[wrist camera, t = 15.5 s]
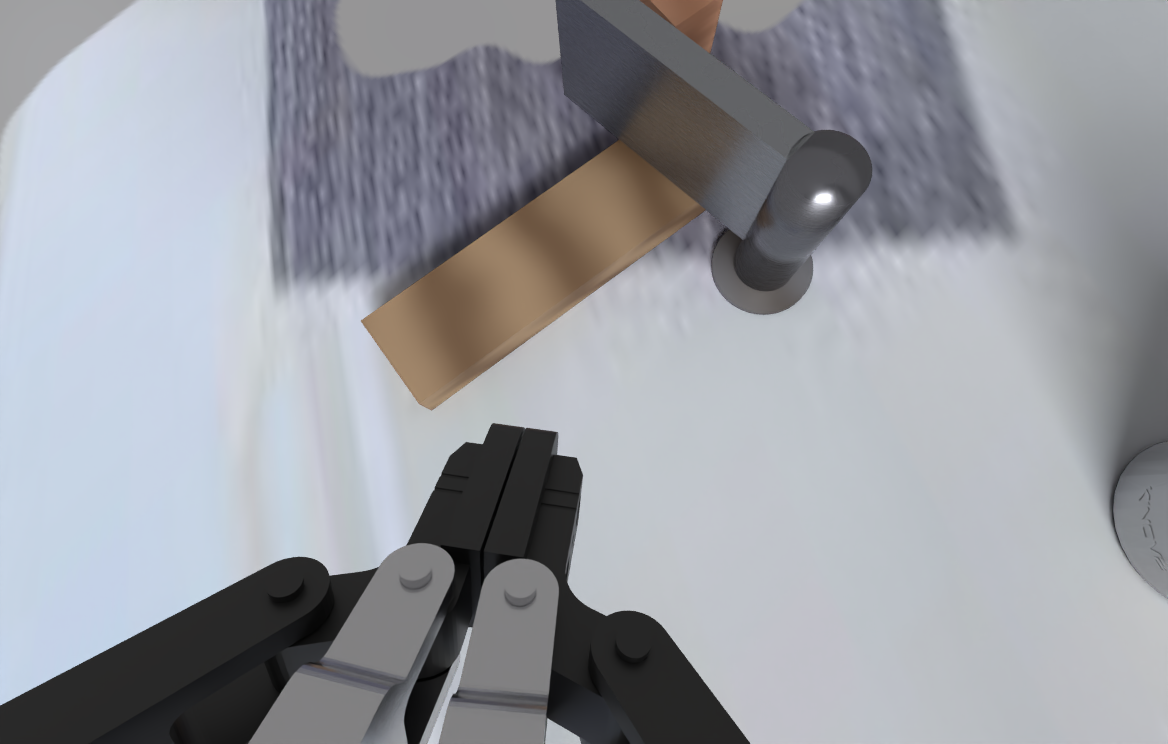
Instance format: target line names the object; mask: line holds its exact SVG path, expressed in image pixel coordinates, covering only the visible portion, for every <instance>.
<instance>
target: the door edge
mask: <svg viewBox="0 0 1168 744" xmlns="http://www.w3.org/2000/svg"><path fill="white" fill-rule="evenodd" d="M639 1H641V2H642V3H643V4H645V5H646V6H647V7H649V8H650V9H651V10H653V11H654V12H655V13H657V14H658V15H659V16H661V17H662V18H663V19H665V20H666V21H667V22H669V23H670V24H671V25H673V26H674V27H675V28H677V29H678V30H679V31H681V32H682V33H683V34H685V35H686V36H687V37H689V38H690V39H691V40H693V41H694V42H695V43H697V44H698V45H699V46H701V47H702V48H703V49H705V50H706V51H707V52H709V53H710V52H711V47H712V43H713V39H714V35H715V31H716V27H717V23H718V19H719V14H720V10H721V6H722V2H723V0H639ZM704 211H705V209H704V208H703V207H702V206H700V205H699V204H698V203H697V202H696V201H694V200H693V199H692V198H691V197H689V196H688V195H687V194H686V193H684V192H683V191H682V190H681V189H680V188H678V187H677V186H676V185H675V184H673V183H672V182H671V181H670V180H669V179H667V178H666V177H665V176H664V175H662V174H661V173H660V172H659V171H657V170H656V169H655V168H654V167H653V166H651V165H650V164H649V163H648V162H646V161H645V160H644V159H643V158H641V157H640V156H639V155H638V154H637V153H635V152H634V151H633V150H632V149H630V148H629V147H628V146H627V145H625V144H624V143H623V142H622V141H621V140H618V141H617V142H615V143H614V144H613V145H611V146H610V147H608V148H607V149H605V150H604V151H603V152H601V153H600V154H598V155H597V156H595V157H594V158H593V159H591V160H590V161H588V162H587V163H585V164H584V165H583V166H581V167H580V168H578V169H577V170H575V171H574V172H573V173H571V174H570V175H568V176H567V177H565V178H564V179H563V180H561V181H560V182H558V183H557V184H555V185H554V186H553V187H551V188H550V189H548V190H547V191H545V192H544V193H543V194H541V195H540V196H538V197H537V198H535V199H534V200H533V201H531V202H530V203H528V204H527V205H525V206H524V207H523V208H521V209H520V210H518V211H517V212H515V213H514V214H513V215H511V216H510V217H508V218H507V219H505V220H504V221H503V222H501V223H500V224H498V225H497V226H495V227H494V228H493V229H491V230H490V231H488V232H487V233H485V234H484V235H483V236H481V237H480V238H478V239H477V240H475V241H474V242H473V243H471V244H470V245H468V246H467V247H465V248H464V249H463V250H461V251H460V252H458V253H457V254H455V255H454V256H453V257H451V258H450V259H448V260H447V261H445V262H444V263H443V264H441V265H440V266H438V267H437V268H435V269H434V270H433V271H431V272H430V273H428V274H427V275H425V276H424V277H423V278H421V279H420V280H418V281H417V282H415V283H414V284H413V285H411V286H410V287H408V288H407V289H405V290H404V291H403V292H401V293H400V294H398V295H397V296H395V297H394V298H393V299H391V300H390V301H388V302H387V303H385V304H384V305H383V306H381V307H380V308H378V309H377V310H375V311H374V312H373V313H371V314H370V315H368V316H367V317H365V318H364V319H363V320H361V322H362V323H363V325H364V326H365V328H366V329H367V331H368V332H369V333H370V335H371V336H372V338H373V339H374V340H375V342H376V343H377V345H378V346H379V348H380V349H381V350H382V352H383V353H384V355H385V356H386V358H387V359H388V360H389V362H390V363H391V365H392V366H393V368H394V369H395V370H396V372H397V373H398V375H399V376H400V377H401V379H402V380H403V382H404V383H405V385H406V386H407V387H408V389H409V390H410V392H411V393H412V395H413V396H414V397H415V399H416V400H417V402H418V403H419V404H420V405H422V406H424V407H426V408H428V409H430V410H433V409H434V408H436V407H437V406H438V405H440V404H441V403H442V402H444V401H445V400H447V399H448V398H449V397H451V396H452V395H453V394H455V393H456V392H457V391H459V390H460V389H462V388H463V387H464V386H466V385H467V384H468V383H470V382H471V381H473V380H474V379H475V378H477V377H478V376H479V375H481V374H482V373H483V372H485V371H486V370H488V369H489V368H490V367H492V366H493V365H494V364H496V363H497V362H499V361H500V360H501V359H503V358H504V357H505V356H507V355H508V354H509V353H511V352H512V351H514V350H515V349H516V348H518V347H519V346H520V345H522V344H523V343H525V342H526V341H527V340H529V339H530V338H531V337H533V336H534V335H535V334H537V333H538V332H540V331H541V330H542V329H544V328H545V327H546V326H548V325H549V324H551V323H552V322H553V321H555V320H556V319H557V318H559V317H560V316H561V315H563V314H564V313H566V312H567V311H568V310H570V309H571V308H572V307H574V306H575V305H577V304H578V303H579V302H581V301H582V300H583V299H585V298H586V297H587V296H589V295H590V294H592V293H593V292H594V291H596V290H597V289H598V288H600V287H601V286H603V285H604V284H605V283H607V282H608V281H609V280H611V279H612V278H613V277H615V276H616V275H618V274H619V273H620V272H622V271H623V270H624V269H626V268H627V267H629V266H630V265H631V264H633V263H634V262H635V261H637V260H638V259H639V258H641V257H642V256H644V255H645V254H646V253H648V252H649V251H650V250H652V249H653V248H655V247H656V246H657V245H659V244H660V243H661V242H663V241H664V240H665V239H667V238H668V237H670V236H671V235H672V234H674V233H675V232H676V231H678V230H679V229H681V228H682V227H683V226H685V225H686V224H687V223H689V222H690V221H691V220H693V219H694V218H696V217H697V216H698V215H700V214H701V213H702V212H704ZM741 241H742V239H741V238H740V237H739V236H737V235H736V234H735V233H734V232H732V231H731V230H730V229H729V230H728V231H727V232H726V233H725V234H724V235H723V236H722V237H721V239H720V240H719V242H718V244H717V246H716V248H715V250H714V253H713V256H712V265H711V269H712V275H713V279H714V282H715V284H716V286H717V288H718V290H719V292H720V293H721V294H722V296H723V297H724V298H725V299H726V300H727V301H728V302H730V303H731V304H732V305H734V306H735V307H737V308H739V309H741V310H743V311H746V312H749V313H754V314H763V315H765V314H774V313H778V312H781V311H784V310H786V309H788V308H790V307H791V306H793V305H794V304H795V303H796V302H797V301H799V300H800V299H801V297H802V296H803V295H804V294H805V292H806V291H807V289H808V287H809V285H810V283H811V280H812V275H813V261H812V257H811V255H810V257H809V258H808V259H807V260H806V261H805V262H804V264H803V265H802V266H801V267H800V268H799V270H798V271H797V272H796V273H795V274H794V275H793V277H792V278H791V279H790V280H789V281H788V282H787V283H786V284H785V285H784V286H783V287H781V288H779V289H777V290H773V291H758V290H754V289H752V288H750V287H748V286H747V285H745V284H744V283H743V282H742V281H741V280H740V279H739V277H738V276H737V274H736V272H735V268H734V256H735V252H736V250H737V248H738V246H739V244H740V243H741Z"/></svg>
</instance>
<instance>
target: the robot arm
mask: <svg viewBox="0 0 1168 744" xmlns="http://www.w3.org/2000/svg"><path fill="white" fill-rule="evenodd" d="M557 447H558V432H553V431H546V430H539V429H532V428H526V429H525V428H524V427H517V426H509V425H502V424H495V423H493V424H492V425H491V427H490V429H489V431H488V434H487V436H486V438H485V441H484V443H483V444H476V443H469V442H466V443H465V444H463V445H462V446H461V447H460V448H459V449H458V450H456V451H455V452H454V453H453V454H452V455H450V457H449V459H448V461H447V463H446V465H445V467H444V469H443V471H442V475H441V477H439V480H438V482H437V484H436V486H435V490H434V491H433V492H432V494H431V496H430V498H429V500H428V502H427V504H426V506H425V508H424V511H423V513H422V515H421V517H420V519H419V521H418V523H417V525H416V527H415V529H414V531H413V533H412V535H411V537H410V539H409V542H408V543H407V545H406V546H404V547H402V548H399V549H398V550H396V551H394V552H393V553H391V554H390V555H389V556H388V557H387V558H386V559H385V560H384V561H383V562H382V563H381V565H380V566H379V567H378V568H375V569H372V570H368V571H363V572H355V573H348V574H340V575H332V576H329V573H328V571H327V569H326V567H325V566H324V565H323V564H322V563H320V562H319V561H317V560H315V559H312V558H307V557H292V558H287V559H283V560H280V561H277V562H275V563H273V564H271V565H269V566H267V567H265V568H263V569H261V570H259V571H257V572H256V573H254V574H252V575H250V576H248V577H246V578H244V579H242V580H240V581H238V582H236V583H234V584H233V585H231V586H229V587H227V588H225V589H223V590H221V591H219V592H217V593H215V594H213V595H211V596H210V597H208V598H206V599H204V600H202V601H200V602H198V603H196V604H194V605H192V606H190V607H188V608H187V609H185V610H183V611H181V612H179V613H177V614H175V615H173V616H171V617H169V618H167V619H165V620H164V621H162V622H160V623H158V624H156V625H154V626H152V627H150V628H148V629H146V630H144V631H142V632H141V633H139V634H137V635H135V636H133V637H131V638H129V639H127V640H125V641H123V642H121V643H119V644H118V645H116V646H114V647H112V648H110V649H108V650H106V651H104V652H102V653H100V654H98V655H96V656H94V657H93V658H91V659H89V660H87V661H85V662H83V663H81V664H79V665H77V666H75V667H73V668H71V669H70V670H68V671H66V672H64V673H62V674H60V675H58V676H56V677H54V678H52V679H50V680H48V681H47V682H45V683H43V684H41V685H39V686H37V687H35V688H33V689H31V690H29V691H27V692H25V693H24V694H22V695H20V696H18V697H16V698H14V699H12V700H10V701H8V702H6V703H4V704H2V705H1V706H0V744H427V743H428V741H429V738H430V736H431V733H432V731H433V728H434V726H435V723H436V721H437V718H438V716H439V713H440V711H441V708H442V706H443V703H444V701H445V698H446V696H447V693H448V691H449V688H450V686H451V683H452V681H453V678H454V676H455V673H456V671H457V668H458V665H459V662H460V651H461V648H462V645H463V642H464V639H465V635H466V632H467V629H468V627H473V628H472V633H471V637H470V641H469V646H468V650H467V654H466V659H465V663H464V667H463V671H462V676H461V680H460V684H459V687H458V690H457V692H456V694H453V695H452V697H451V699H450V702H449V705H448V708H447V712H446V716H445V720H444V724H443V728H442V732H441V736H440V740H439V744H545V738H546V728H547V718H548V719H550V720H552V721H553V722H555V723H557V724H559V725H560V726H562V727H564V728H565V729H567V730H569V731H570V732H572V733H574V734H575V735H577V736H579V737H580V741H581V744H750V742H749V741H748V740H747V738H746V737H745V736H744V734H743V733H742V732H741V730H740V729H739V728H738V726H737V725H736V724H735V722H734V721H733V720H732V718H731V717H730V716H729V714H728V713H727V712H726V710H725V709H724V708H723V706H722V705H721V704H720V702H719V701H718V700H717V698H716V697H715V696H714V694H713V693H712V692H711V690H710V689H709V688H708V686H707V685H706V684H705V682H704V681H703V680H702V678H701V677H700V676H699V674H698V673H697V672H696V670H695V669H694V668H693V666H692V665H691V664H690V662H689V661H688V660H687V658H686V657H685V656H684V654H683V653H682V652H681V650H680V649H679V648H678V646H677V645H676V644H675V642H674V641H673V640H672V638H671V637H670V636H669V634H668V633H667V632H666V630H665V629H664V628H663V627H662V626H661V625H660V624H659V623H658V622H657V621H656V620H654V619H653V618H651V617H650V616H648V615H645V614H643V613H640V612H636V611H620V612H615V613H613V614H610V615H608V616H605V615H603V614H601V613H599V612H597V611H595V610H593V609H591V608H589V607H588V606H586V605H584V604H583V603H582V602H581V601H579V600H578V599H577V598H576V597H575V595H574V594H573V593H572V591H571V590H570V588H569V586H568V583H567V581H568V576H569V570H570V564H571V558H572V553H573V548H574V541H575V536H576V531H577V525H578V518H579V508H580V499H581V489H582V479H583V474H582V471H581V468H580V466H579V463H578V460H577V458H574V457H567V456H560V455H557ZM1113 512H1114V520H1115V528H1116V531H1117V534H1118V537H1119V540H1120V543H1121V546H1122V548H1123V550H1124V552H1125V554H1126V555H1127V557H1128V559H1129V561H1130V563H1131V564H1132V565H1133V567H1134V568H1135V569H1136V570H1137V572H1138V573H1139V574H1140V575H1141V577H1142V578H1143V579H1144V580H1145V581H1146V582H1147V583H1148V584H1149V585H1151V586H1152V587H1153V588H1154V589H1155V590H1156V591H1157V592H1159V593H1160V594H1161V595H1163V596H1164V597H1166V598H1168V441H1167V442H1163V443H1159V444H1155V445H1154V446H1152V447H1150V448H1148V449H1146V450H1144V451H1142V452H1141V453H1140V454H1138V455H1137V456H1136V457H1135V458H1134V459H1133V460H1132V461H1131V462H1130V463H1129V464H1128V465H1127V467H1126V469H1125V470H1124V472H1123V473H1122V475H1121V476H1120V479H1119V482H1118V485H1117V488H1116V490H1115V496H1114V507H1113Z"/></svg>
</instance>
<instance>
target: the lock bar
mask: <svg viewBox="0 0 1168 744" xmlns="http://www.w3.org/2000/svg"><path fill="white" fill-rule="evenodd" d="M556 10H557V20H558V31H559V42H560V53H561V64H562V75H563V86H564V95H565V96H566V97H568V98H569V99H570V100H571V101H573V102H574V103H575V104H576V105H578V106H579V107H580V108H581V109H582V110H584V111H585V112H586V113H587V114H589V115H590V116H591V117H592V118H593V119H595V120H596V121H597V122H598V123H600V124H601V125H602V126H603V127H605V128H606V129H607V130H608V131H609V132H611V133H612V134H613V135H614V136H616V137H617V138H618V139H619V140H621V141H622V142H623V143H624V144H625V145H627V146H628V147H629V148H630V149H632V150H633V151H634V152H635V153H637V154H638V155H639V156H640V157H641V158H643V159H644V160H645V161H646V162H648V163H649V164H650V165H651V166H653V167H654V168H655V169H656V170H657V171H659V172H660V173H661V174H662V175H664V176H665V177H666V178H667V179H669V180H670V181H671V182H672V183H673V184H675V185H676V186H677V187H678V188H680V189H681V190H682V191H683V192H684V193H686V194H687V195H688V196H689V197H691V198H692V199H693V200H694V201H696V202H697V203H698V204H699V205H700V206H702V207H703V208H704V209H705V210H707V211H708V212H709V213H710V214H712V215H713V216H714V217H715V218H716V219H718V220H719V221H720V222H721V223H723V224H724V225H725V226H726V227H728V228H729V229H730V230H731V231H732V232H734V233H735V234H736V235H737V236H739V237H740V238H741V239H742V241H741V243H740V244H739V246H738V248H737V250H736V252H735V256H734V268H735V272H736V274H737V276H738V277H739V279H740V280H741V281H742V282H743V283H744V284H745V285H747V286H748V287H750V288H752V289H754V290H758V291H773V290H777V289H779V288H781V287H783V286H784V285H785V284H786V283H787V282H788V281H789V280H790V279H791V278H792V277H793V275H794V274H795V273H796V272H797V271H798V270H799V268H800V267H801V266H802V265H803V264H804V262H805V261H806V260H807V259H808V258H809V257H810V255H811V254H812V253H813V252H814V251H815V250H816V248H817V247H818V246H819V245H820V244H821V242H822V241H823V240H824V239H825V238H826V237H827V235H828V234H829V233H830V232H831V231H832V229H833V228H834V227H835V226H836V225H837V224H838V222H839V221H840V220H841V219H842V218H843V217H844V215H845V214H846V213H847V212H848V211H849V209H850V208H851V207H852V206H853V205H854V204H855V202H856V201H857V200H858V199H859V198H860V197H861V195H862V194H863V193H864V192H865V190H866V189H867V187H868V186H869V184H870V181H871V177H872V164H871V160H870V157H869V155H868V153H867V151H866V150H865V148H864V147H863V146H862V145H861V144H860V143H859V142H858V141H857V140H856V139H854V138H853V137H851V136H849V135H847V134H845V133H842V132H839V131H834V130H819V131H814V132H813V131H812V130H811V129H809V128H808V127H807V126H805V125H804V124H803V123H802V122H800V121H799V120H798V119H796V118H795V117H794V116H792V115H791V114H790V113H788V112H787V111H786V110H784V109H783V108H782V107H780V106H779V105H778V104H776V103H775V102H774V101H772V100H771V99H770V98H768V97H767V96H766V95H764V94H763V93H762V92H760V91H759V90H758V89H756V88H755V87H754V86H752V85H751V84H750V83H748V82H747V81H746V80H744V79H743V78H742V77H740V76H739V75H738V74H736V73H735V72H734V71H732V70H731V69H730V68H728V67H727V66H726V65H724V64H723V63H722V62H721V61H719V60H718V59H717V58H715V57H714V56H713V55H711V54H710V53H709V52H707V51H706V50H705V49H703V48H702V47H701V46H699V45H698V44H697V43H695V42H694V41H693V40H691V39H690V38H689V37H687V36H686V35H685V34H683V33H682V32H681V31H679V30H678V29H677V28H675V27H674V26H673V25H671V24H670V23H669V22H667V21H666V20H665V19H663V18H662V17H661V16H659V15H658V14H657V13H655V12H654V11H653V10H651V9H650V8H649V7H647V6H646V5H645V4H643V3H642V2H641V1H639V0H556Z"/></svg>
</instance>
